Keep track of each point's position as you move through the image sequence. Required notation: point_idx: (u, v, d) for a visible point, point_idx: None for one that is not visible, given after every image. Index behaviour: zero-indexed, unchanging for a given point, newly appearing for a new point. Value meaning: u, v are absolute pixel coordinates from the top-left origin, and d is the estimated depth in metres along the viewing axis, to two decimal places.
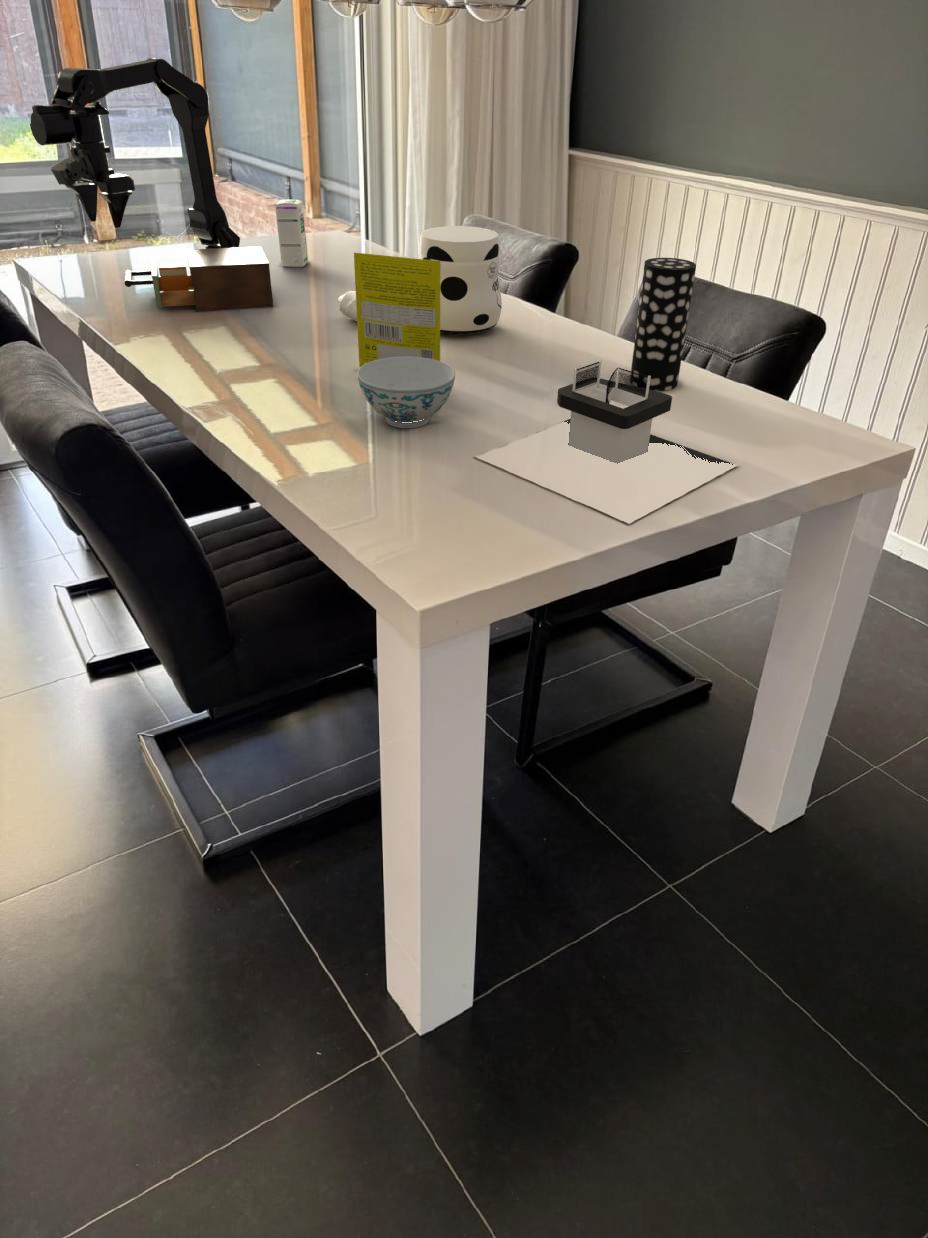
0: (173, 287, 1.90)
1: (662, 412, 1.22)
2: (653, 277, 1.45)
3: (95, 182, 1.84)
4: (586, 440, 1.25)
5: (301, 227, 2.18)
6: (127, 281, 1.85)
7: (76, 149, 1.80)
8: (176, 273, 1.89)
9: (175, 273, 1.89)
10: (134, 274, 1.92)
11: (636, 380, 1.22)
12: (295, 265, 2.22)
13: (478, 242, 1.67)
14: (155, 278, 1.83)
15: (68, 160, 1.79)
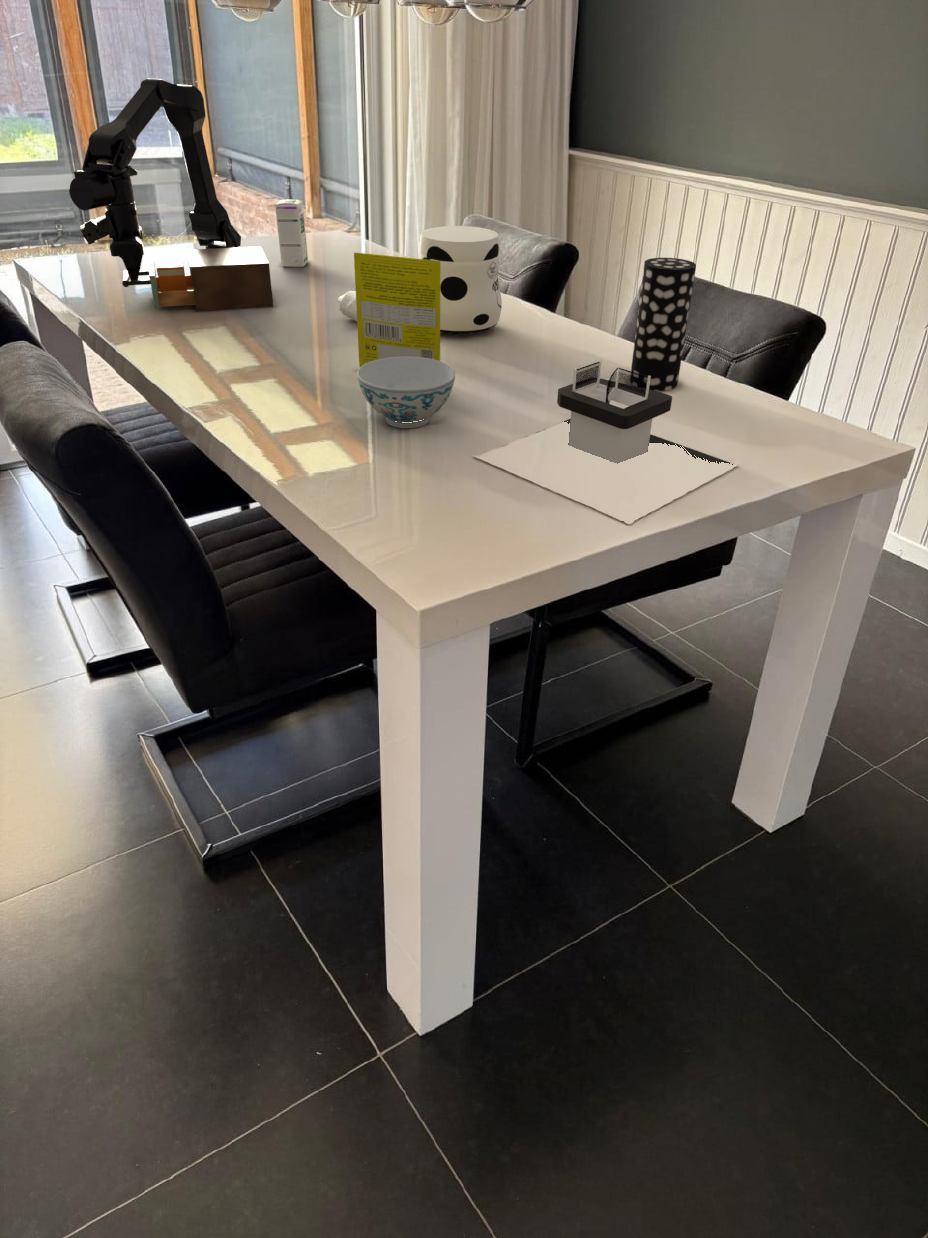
0: (171, 287, 1.90)
1: (662, 412, 1.22)
2: (652, 277, 1.45)
3: None
4: (586, 440, 1.25)
5: (301, 227, 2.18)
6: (125, 281, 1.85)
7: None
8: (174, 273, 1.89)
9: (173, 273, 1.89)
10: None
11: (636, 380, 1.22)
12: (295, 265, 2.22)
13: (478, 242, 1.67)
14: (153, 278, 1.83)
15: (97, 219, 1.82)
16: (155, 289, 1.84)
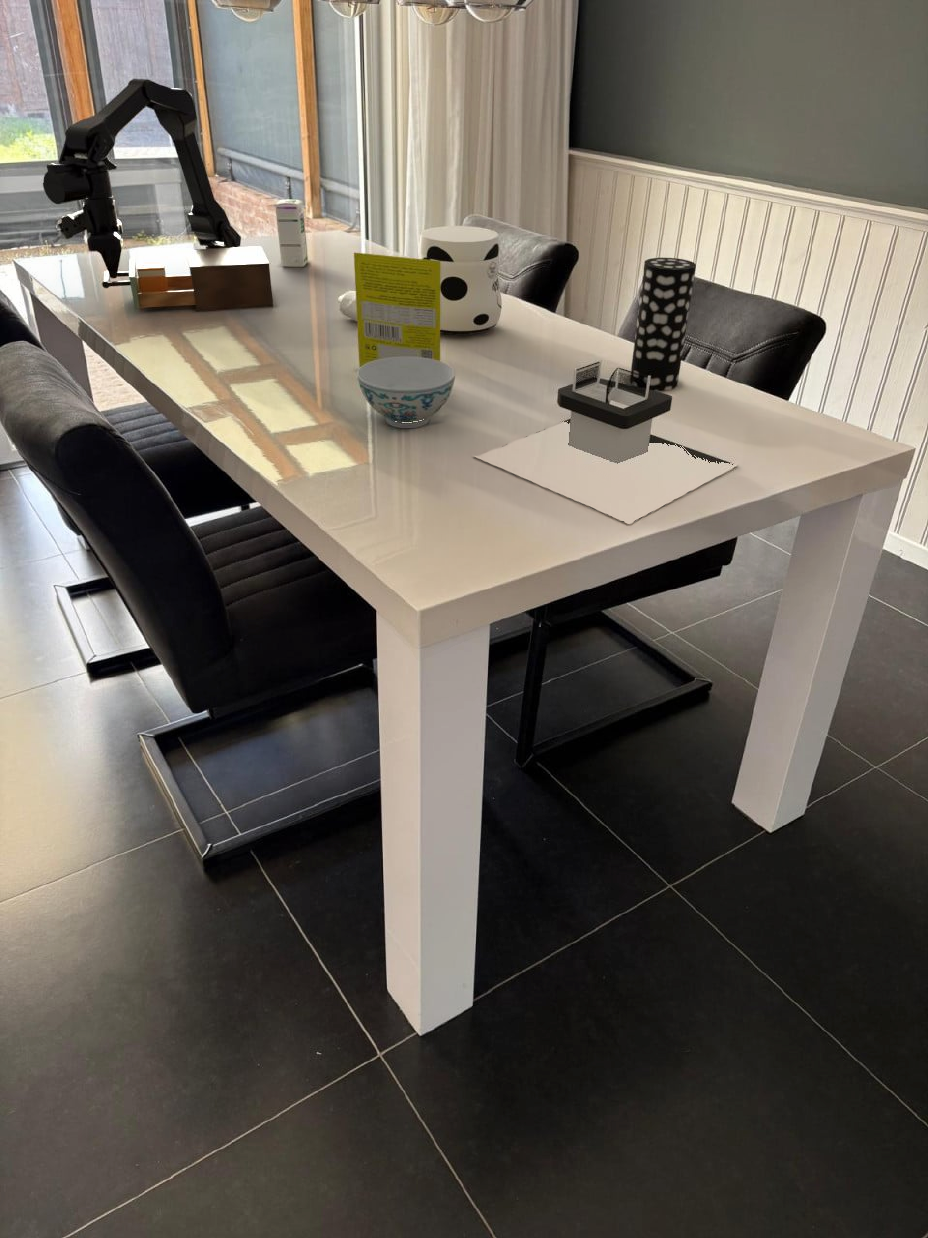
0: (151, 288, 1.89)
1: (662, 412, 1.22)
2: (652, 277, 1.45)
3: None
4: (586, 440, 1.25)
5: (301, 227, 2.18)
6: (105, 282, 1.84)
7: (84, 203, 1.79)
8: (154, 274, 1.88)
9: (153, 274, 1.88)
10: None
11: (636, 380, 1.22)
12: (295, 265, 2.22)
13: (478, 242, 1.67)
14: (132, 279, 1.82)
15: (75, 213, 1.80)
16: (135, 290, 1.83)
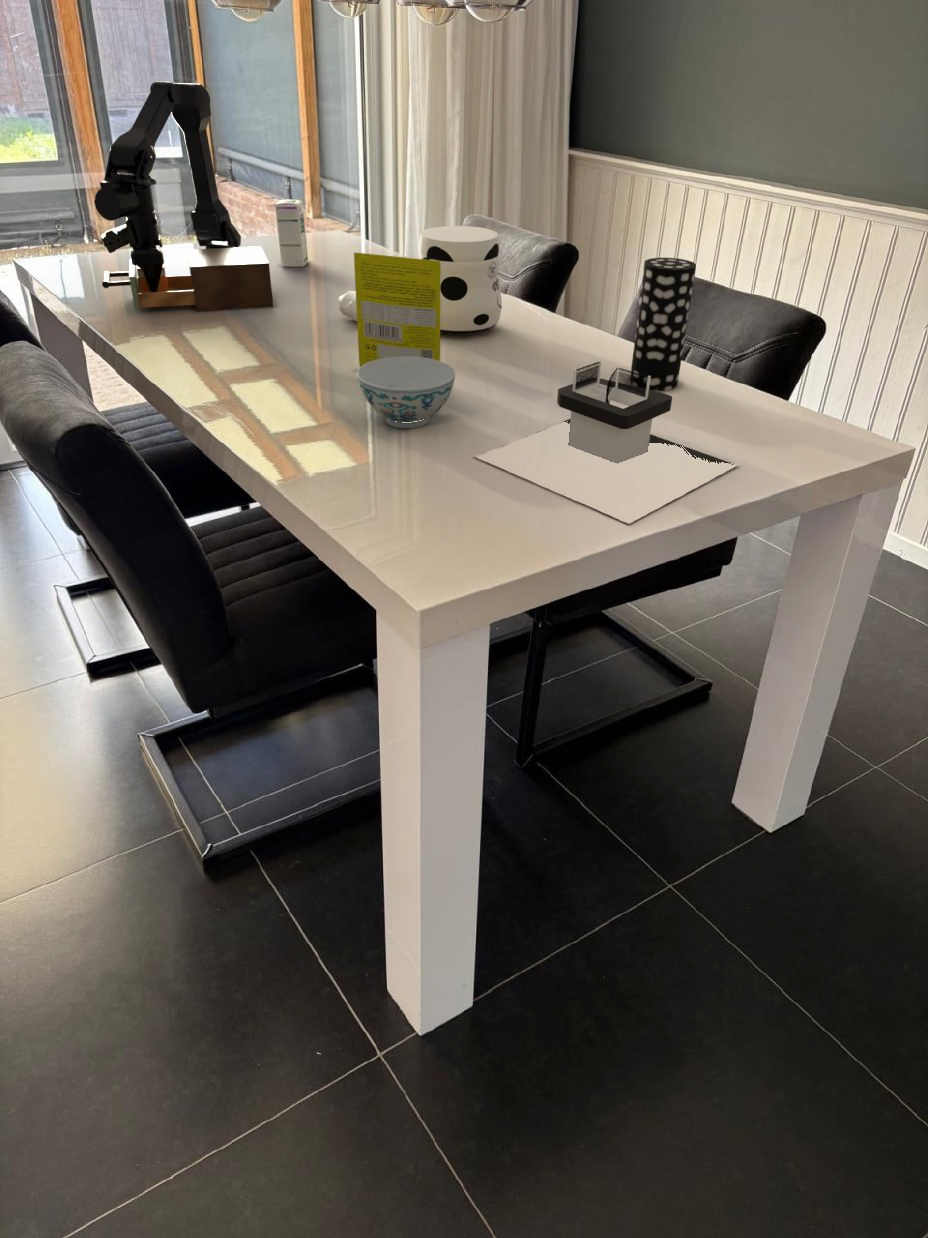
0: None
1: (662, 412, 1.22)
2: (652, 277, 1.45)
3: None
4: (586, 440, 1.25)
5: (301, 227, 2.18)
6: (105, 282, 1.84)
7: (127, 218, 1.83)
8: None
9: None
10: (112, 275, 1.91)
11: (636, 379, 1.22)
12: (295, 265, 2.22)
13: (478, 242, 1.67)
14: (132, 279, 1.82)
15: (118, 228, 1.84)
16: (135, 290, 1.83)
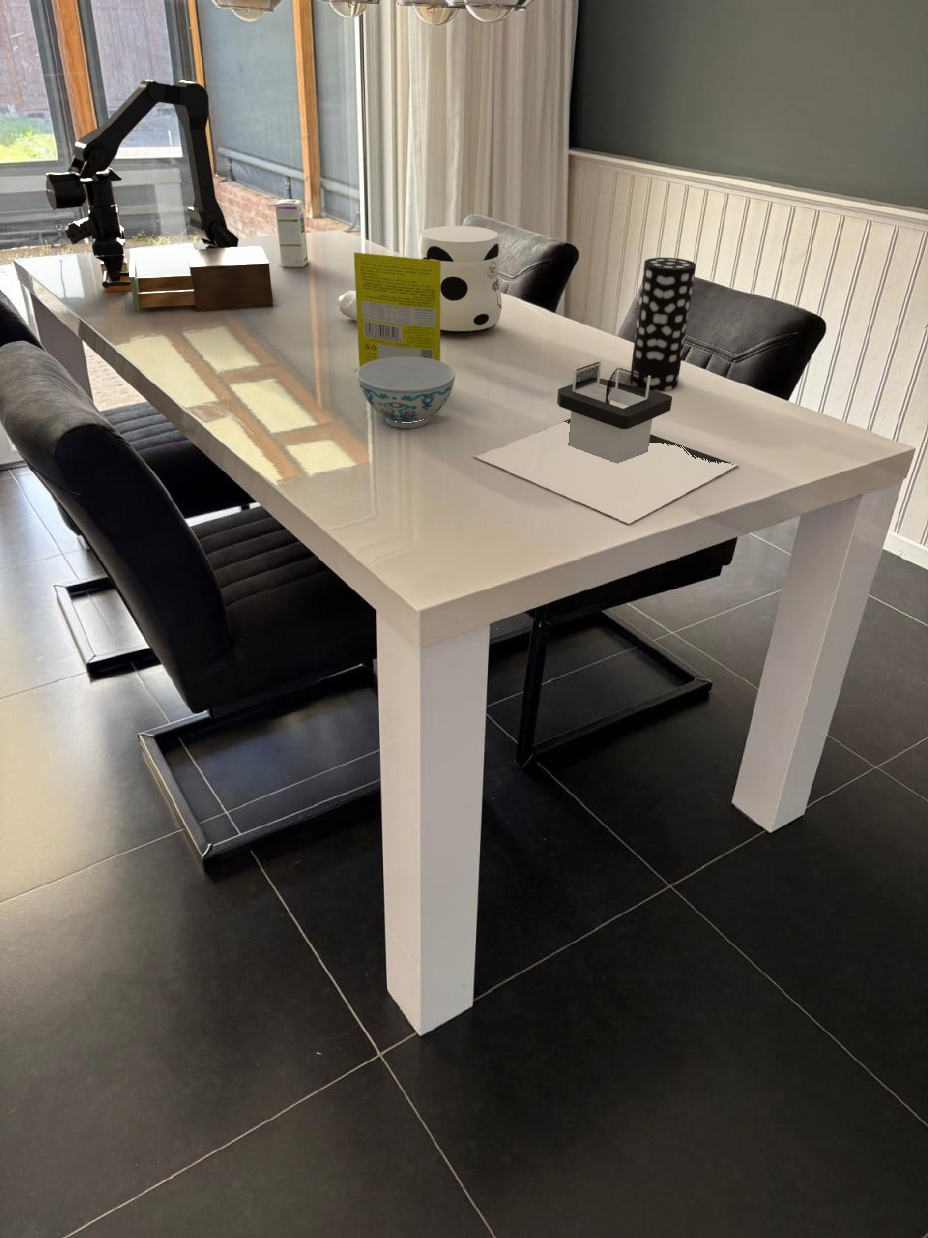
0: None
1: (662, 412, 1.22)
2: (652, 277, 1.45)
3: None
4: (586, 440, 1.25)
5: (301, 227, 2.18)
6: (105, 282, 1.84)
7: (89, 211, 1.92)
8: None
9: None
10: (112, 275, 1.91)
11: (636, 379, 1.22)
12: (295, 265, 2.22)
13: (478, 242, 1.67)
14: (132, 279, 1.82)
15: (81, 220, 1.93)
16: (135, 290, 1.83)
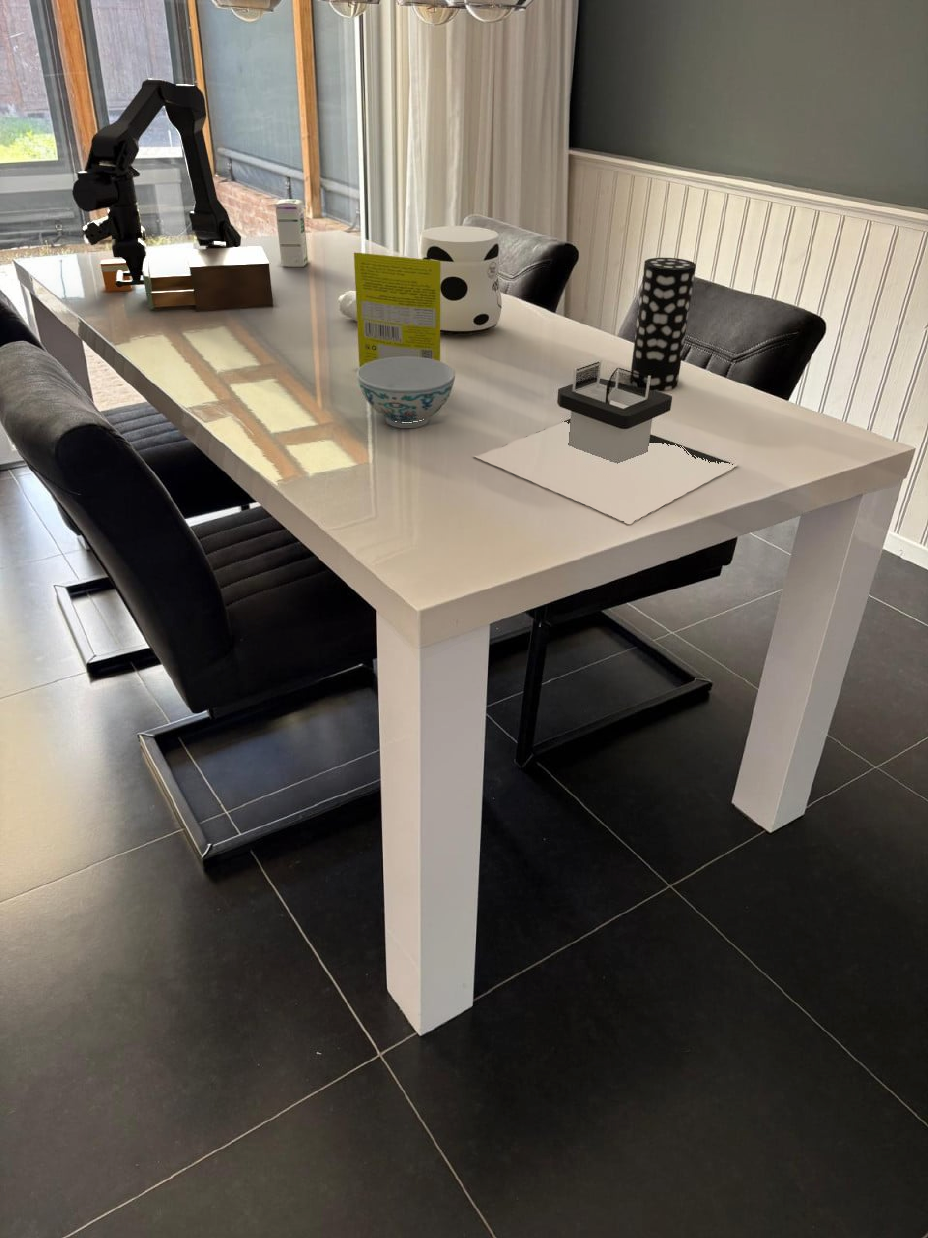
0: (115, 282, 1.99)
1: (662, 412, 1.22)
2: (652, 277, 1.45)
3: None
4: (586, 440, 1.25)
5: (301, 227, 2.18)
6: (118, 281, 1.84)
7: (109, 210, 1.81)
8: (117, 269, 1.98)
9: (116, 269, 1.98)
10: (126, 274, 1.91)
11: (636, 380, 1.22)
12: (295, 265, 2.22)
13: (478, 242, 1.67)
14: (146, 278, 1.82)
15: (100, 220, 1.82)
16: (149, 289, 1.84)
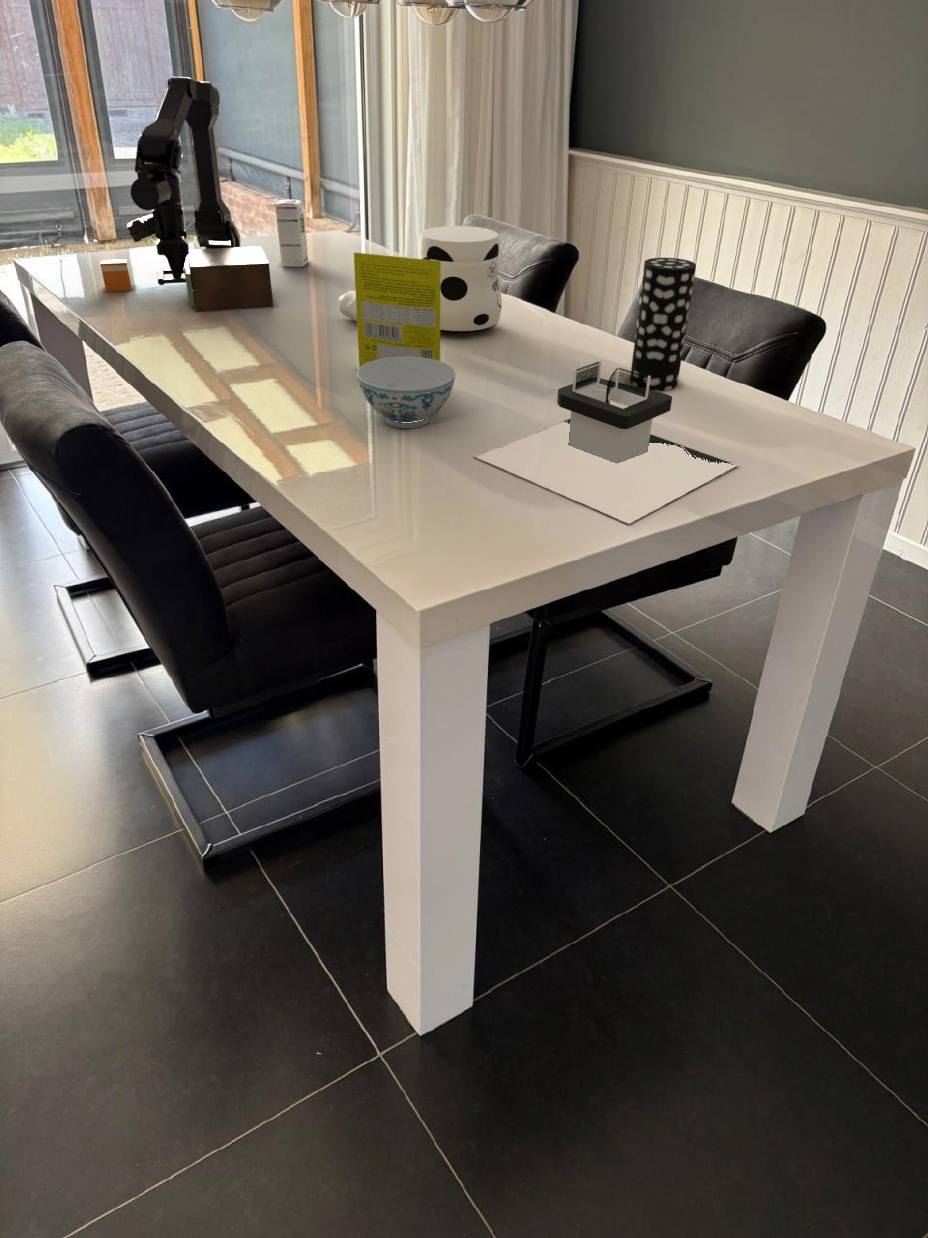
0: (115, 282, 1.99)
1: (662, 412, 1.22)
2: (652, 277, 1.45)
3: None
4: (586, 440, 1.25)
5: (301, 227, 2.18)
6: (160, 279, 1.86)
7: (153, 208, 1.83)
8: (117, 269, 1.98)
9: (116, 269, 1.98)
10: (166, 272, 1.93)
11: (636, 379, 1.22)
12: (295, 265, 2.22)
13: (478, 242, 1.67)
14: (188, 276, 1.84)
15: (144, 217, 1.84)
16: (190, 287, 1.86)
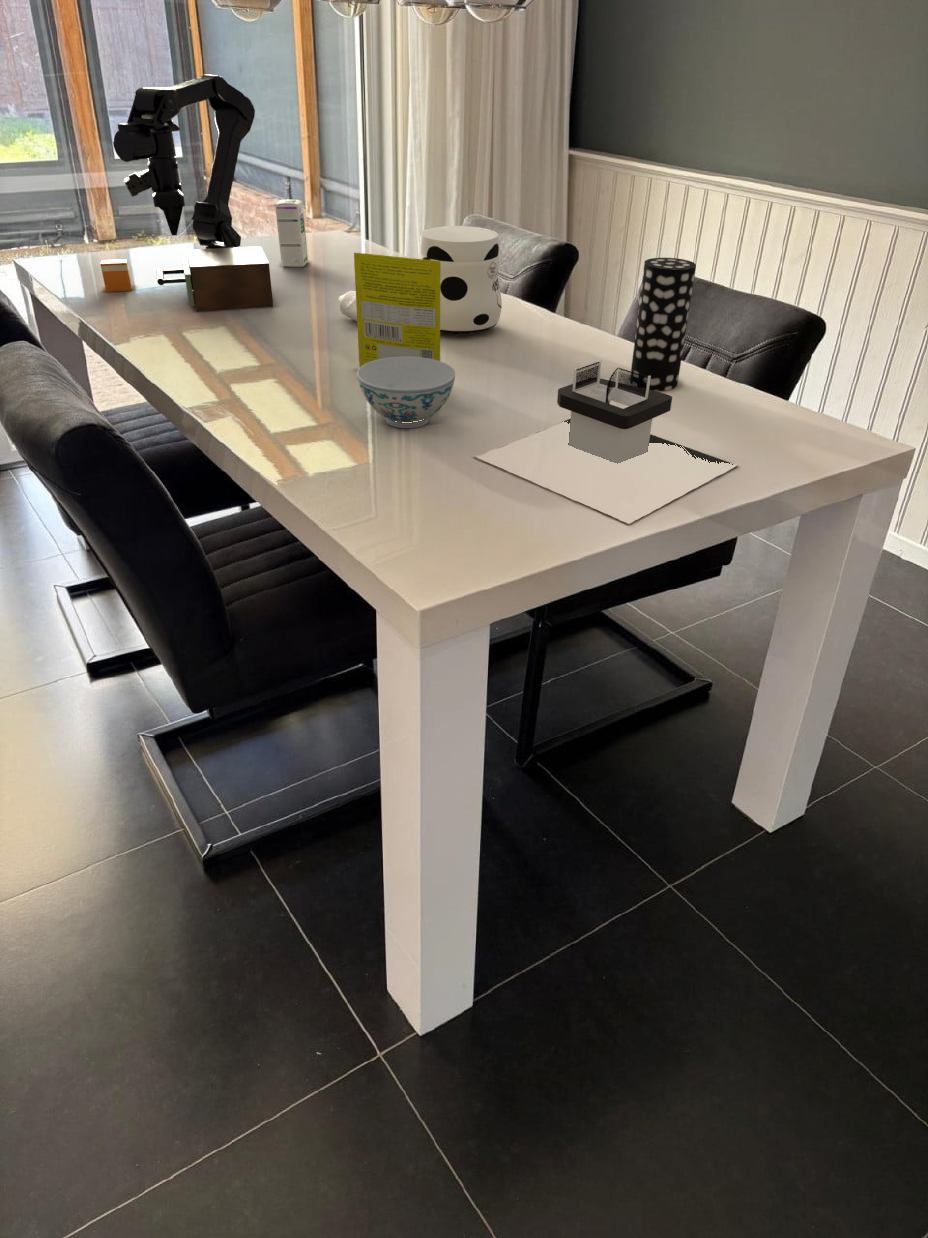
0: (115, 282, 1.99)
1: (662, 412, 1.22)
2: (652, 277, 1.45)
3: None
4: (586, 440, 1.25)
5: (301, 227, 2.18)
6: (160, 279, 1.86)
7: (149, 163, 1.90)
8: (117, 269, 1.98)
9: (116, 269, 1.98)
10: (166, 272, 1.93)
11: (636, 379, 1.22)
12: (295, 265, 2.22)
13: (478, 242, 1.67)
14: (188, 276, 1.84)
15: (140, 172, 1.91)
16: (190, 287, 1.86)
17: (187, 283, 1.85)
